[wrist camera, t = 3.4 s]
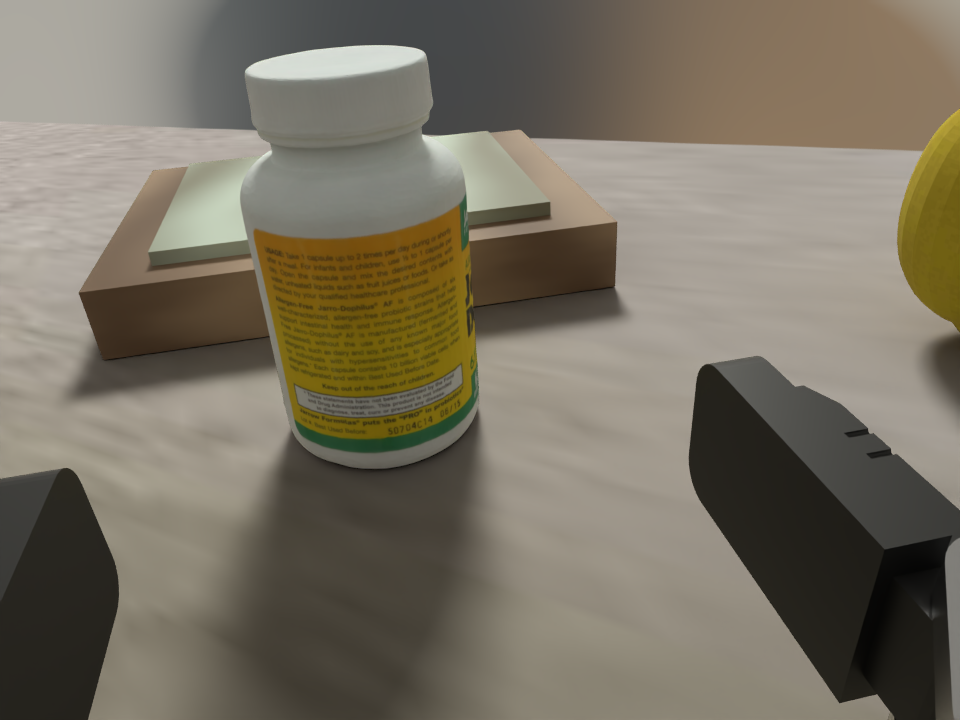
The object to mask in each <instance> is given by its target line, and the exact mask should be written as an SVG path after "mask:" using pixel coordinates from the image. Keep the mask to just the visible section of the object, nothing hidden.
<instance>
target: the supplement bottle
mask: <svg viewBox="0 0 960 720" xmlns="http://www.w3.org/2000/svg"><path fill="white" fill-rule="evenodd" d="M245 80H246V86H247V91H248V96H249V102H250V107H251V117H252V123H253V125H254V126H255V127H256V128H257V131H258V134H259V136H260V137H261V138H262V139H263V140H265V141H267V142H269V143H270V145H271V149H272V150H271V151H269V152H267V153H266V154H264V155H263V156H262V157H260V158H259V159H258V160H257V161H256V162H255V163H254V164H253V165H252V166H251V168H250V169H249V170H248V172H247V173H246V175H245V177H244V179H243V182H242V186H241V190H240V205H241V211H242V215H243V220H244V225H245V230H246V235H247V239H248V244H249V248H250V252H251V257H252V261H253V265H254V269H255V273H256V278H257V282H258V287H259V292H260V296H261V300H262V304H263V308H264V313H265V317H266V322H267V326H268V331H269V336H270V340H271V345H272V349H273V354H274V358H275V363H276V367H277V372H278V376H279V380H280V385H281V389H282V394H283V400H284V405H285V408H286V411H287V415H288V420H289V424H290V426H291V429H292V431H293V433H294V435H295V437H296V438H297V440H298V441H299V442H300V444H301V445H302V446H303V447H304V448H306V449H307V450H308V451H309V452H311V453H312V454H314V455H316V456H317V457H320V458H322V459H324V460H326V461H330V462H334V463H338V464H341V465H345V466H348V467H354V468H362V469H383V468H393V467H399V466H404V465H407V464H411V463H414V462H417V461H420V460H423V459H425V458H428V457H430V456H432V455H434V454H436V453H438V452H440V451H442V450H443V449H445V448H447V447H448V446H450V445H451V444H452V443H454V442H455V441H456V440H458V439H459V438H460V437H461V436H462V434H463V433H464V432H465V431H466V430H467V429H468V427H469V425H470V424H471V422H472V421H473V419H474V416H475V414H476V411H477V409H478V404H479V386H478V365H477V353H476V339H475V322H474V316H473V293H472V278H471V260H470V245H469V228H468V213H467V196H466V186H465V177H464V174H463V170H462V167H461V165H460V163H459V161H458V160H457V158H456V157H455V155H454V154H453V153H452V152H451V151H450V150H449V149H448V148H447V147H445V146H444V145H443V144H441V143H440V142H438V141H437V140H435V139H432V138H430V137H428V136H425V135H422V129H421V126H422V125H423V124H424V123H425V122H426V121H427V120H428V119H429V110H430V109H431V107H432V105H433V99H432V94H431V85H430V78H429V70H428V62H427V58H426V55H425V53H424V52H423V51H421V50H419V49H416V48H409V47H401V46H384V45H382V46H381V45H373V46H350V47H339V48H338V47H337V48H328V49H319V50H311V51H304V52H299V53H293V54H288V55H284V56H278V57H274V58H270V59H267V60H263V61H260V62H257V63H255V64H253V65H252V66H250V67H249V68H247V69H246V71H245Z"/></svg>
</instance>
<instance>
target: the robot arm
mask: <svg viewBox="0 0 960 720" xmlns="http://www.w3.org/2000/svg"><path fill="white" fill-rule="evenodd" d="M689 468H690V474H691V479H692V483H693V486H694V489H695V491H696V494H697V496H698V498H699V499H700V501H701V503H702V504H703V506H704V507H705V509H706V510H707V511H708V513H709V514H710V516H711V517H712V519H713V520H714V522H715V523H716V525H717V526H718V527H719V529H720V530H721V532H722V533H723V535H724V536H725V538H726V539H727V540H728V542H729V543H730V545H731V546H732V548H733V549H734V551H735V552H736V554H737V555H738V556H739V558H740V559H741V561H742V562H743V564H744V565H745V567H746V568H747V570H748V571H749V572H750V574H751V575H752V577H753V578H754V580H755V581H756V583H757V584H758V586H759V587H760V588H761V590H762V591H763V593H764V594H765V596H766V597H767V599H768V600H769V601H770V603H771V604H772V606H773V607H774V609H775V610H776V612H777V613H778V615H779V616H780V617H781V619H782V620H783V622H784V623H785V625H786V626H787V628H788V629H789V631H790V632H791V633H792V635H793V636H794V638H795V639H796V641H797V642H798V644H799V645H800V647H801V648H802V649H803V651H804V652H805V654H806V655H807V657H808V658H809V660H810V661H811V662H812V664H813V665H814V667H815V668H816V670H817V671H818V673H819V674H820V676H821V677H822V678H823V680H824V681H825V683H826V684H827V686H828V687H829V689H830V690H831V692H832V693H833V694H834V696H835V697H836V699H837V700H838V702H839V703H842V702H846V701H851V700H855V699H859V698H863V697H867V696H871V695H876V694H877V695H878V696H879V697H880V699H881V700H882V701H883V703H884V704H885V705H886V707H887V708H888V709H889V711H890V713H889V716H888V719H887V720H960V510H959V509H958V508H957V507H955V506H954V505H953V504H952V503H951V502H950V501H949V500H948V499H947V498H945V497H944V496H943V495H942V494H941V493H940V492H939V491H938V490H936V489H935V488H934V487H933V486H932V485H931V484H930V483H929V482H928V481H926V480H925V479H924V478H923V477H922V476H921V475H920V474H919V473H917V472H916V471H915V470H914V469H913V468H912V467H911V466H910V465H908V464H907V463H906V462H905V461H904V460H903V459H902V458H901V457H900V456H898V455H897V454H895V455H892V453H891V448H889V447H888V446H887V445H886V444H885V443H884V442H883V441H882V440H881V439H879V438H878V437H877V436H876V435H875V434H874V433H873V434H869V432H868V428H867V427H866V426H865V425H864V424H863V423H862V422H860V421H859V420H858V419H857V418H856V417H855V416H854V415H853V414H851V413H850V412H849V411H848V410H847V409H846V408H845V407H844V406H843V405H841V404H840V403H838V402H836V401H834V400H832V399H830V398H828V397H826V396H824V395H821V394H819V393H817V392H815V391H813V390H811V389H809V388H807V387H805V386H798V387H795V386H794V385H792V384H791V383H790V382H789V381H788V380H787V379H786V378H785V377H784V376H783V375H782V374H781V373H780V372H779V371H778V370H777V369H775V368H774V367H773V366H772V365H771V364H770V363H769V362H768V361H767V360H766V359H764V358H762V357H760V356H754V357H748V358H742V359H736V360H730V361H724V362H718V363H712V364H706V365H704V366H702V368H701V369H700V371H699V373H698V376H697V382H696V391H695V401H694V410H693V420H692V430H691V440H690V449H689ZM118 600H119V584H118V575H117V570H116V565H115V562H114V559H113V556H112V554H111V552H110V549H109V547H108V545H107V542H106V540H105V538H104V535H103V533H102V531H101V528H100V526H99V524H98V521H97V519H96V517H95V514H94V512H93V510H92V507H91V505H90V502H89V500H88V498H87V495H86V493H85V491H84V488H83V486H82V484H81V482H80V480H79V478H78V476H77V475H76V474H75V473H74V471H72V470H71V469H68V468H63V469H57V470H51V471H45V472H39V473H33V474H27V475H21V476H15V477H8V478H2V479H0V720H88V718H89V714H90V710H91V706H92V703H93V699H94V695H95V691H96V688H97V684H98V680H99V676H100V673H101V669H102V665H103V661H104V658H105V654H106V650H107V647H108V643H109V639H110V635H111V632H112V628H113V624H114V620H115V617H116V613H117V608H118Z"/></svg>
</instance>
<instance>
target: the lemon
mask: <svg viewBox="0 0 960 720" xmlns="http://www.w3.org/2000/svg"><path fill="white" fill-rule="evenodd" d="M897 245H898V255H899V260H900V264H901V267H902V270H903V272H904V275H905V277H906V279H907V282H908V284H909V285H910V287H911V289H912V290H913V292H914V294H915V295H916V296H917V297H918V298H919V299H920V301H921V302H922V303H924V304H925V305H926V306H927V307H928V308H929V309H930V310H932V311H933V312H934V313H936V314H937V315H939V316H940V317H942V318H944V319H946V320H948V321H950V322H952V323H953V324H954V325H955V327H956V328H957V329H958V331H959V332H960V109H959V110H958V111H956V112H955V113H954V114H952V115H951V116H950V117H949V118H948V119H947V120H946V121H945V122H944V123H943V124H942V125H941V126H940V128H939V129H938V130H937V132H936V133H935V134H934V136H933V137H932V138H931V140H930V142H929V143H928V145H927V147H926V148H925V150H924V151H923V153H922V155H921V157H920V159H919V161H918V163H917V165H916V167H915V169H914V172H913V174H912V176H911V179H910V181H909V184H908V187H907V190H906V193H905V197H904V200H903V203H902V207H901V212H900V216H899V223H898V237H897Z"/></svg>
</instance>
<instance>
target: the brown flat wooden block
mask: <svg viewBox="0 0 960 720" xmlns="http://www.w3.org/2000/svg"><path fill="white" fill-rule="evenodd" d="M430 138H432V139H435V140H437V141H438V142H440V143H441V144H443V145H444V146H445V147H447V148H448V149H449V150H450V151H451V152H452V153H453V154H454V155H455V157H456V158H457V160H458V161H459V163H460V165H461V167H462V170H463V174H464V177H465V186H466V196H467V213H468V228H469V245H470V260H471V278H472V293H473V307H475V306H481V305H488V304H495V303H502V302H509V301H516V300H523V299H530V298H537V297H544V296H551V295H558V294H565V293H572V292H579V291H586V290H593V289H599V288H606V287H613V286H615V271H616V243H617V221H616V220H615V219H614V218H613V217H612V216H611V215H610V214H609V213H607V212H606V211H605V210H604V209H603V208H602V207H601V206H600V205H599V204H598V203H597V202H596V201H595V200H594V199H593V198H592V197H591V196H590V195H589V194H587V193H586V192H585V191H584V190H583V189H582V188H581V187H580V186H579V185H578V184H577V183H576V182H575V181H574V180H573V179H572V178H571V177H570V176H569V175H567V174H566V173H565V172H564V171H563V170H562V169H561V168H560V167H559V166H558V165H557V164H556V163H555V162H554V161H553V160H552V159H551V158H550V157H549V156H547V155H546V154H545V153H544V152H543V151H542V150H541V149H540V148H539V147H538V146H537V145H536V144H535V143H534V142H533V141H532V140H531V139H530V138H529V137H527V136H526V135H525V134H524V133H523V132H522V131H521V130H513V131H504V132H495V133H489V132H488V131H482V132H473V133H464V134H456V135H446V136H437V137H430ZM260 157H262V156H256V157H247V158H238V159H229V160H220V161H211V162H202V163H193V164H189V166H188V167H181V168H172V169H163V170H154V171H152V173H151V175H150V176H149V178H148V180H147V181H146V183H145V185H144V186H143V188H142V190H141V191H140V193H139V194H138V196H137V198H136V199H135V201H134V203H133V204H132V206H131V208H130V209H129V211H128V212H127V214H126V216H125V217H124V219H123V221H122V222H121V224H120V226H119V227H118V229H117V231H116V232H115V234H114V235H113V237H112V239H111V240H110V242H109V244H108V245H107V247H106V249H105V250H104V252H103V254H102V255H101V257H100V258H99V260H98V262H97V263H96V265H95V267H94V268H93V270H92V272H91V273H90V275H89V276H88V278H87V280H86V281H85V283H84V285H83V286H82V288H81V290H80V291H79V295H80V298H81V300H82V303H83V306H84V309H85V311H86V314H87V317H88V319H89V322H90V325H91V328H92V330H93V333H94V336H95V339H96V341H97V344H98V347H99V350H100V352H101V355H102V358H103V360H107V359H114V358H121V357H128V356H134V355H141V354H148V353H155V352H162V351H169V350H176V349H183V348H190V347H197V346H204V345H211V344H218V343H225V342H232V341H239V340H246V339H252V338H259V337H266V336H269V331H268V326H267V322H266V317H265V313H264V308H263V304H262V300H261V296H260V292H259V287H258V282H257V278H256V273H255V269H254V265H253V261H252V257H251V252H250V248H249V244H248V239H247V235H246V230H245V225H244V220H243V215H242V211H241V205H240V190H241V186H242V182H243V179H244V177H245V175H246V173H247V172H248V170H249V169H250V168H251V166H252V165H253V164H254V163H255V162H256V161H257V160H258V159H259V158H260Z"/></svg>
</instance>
